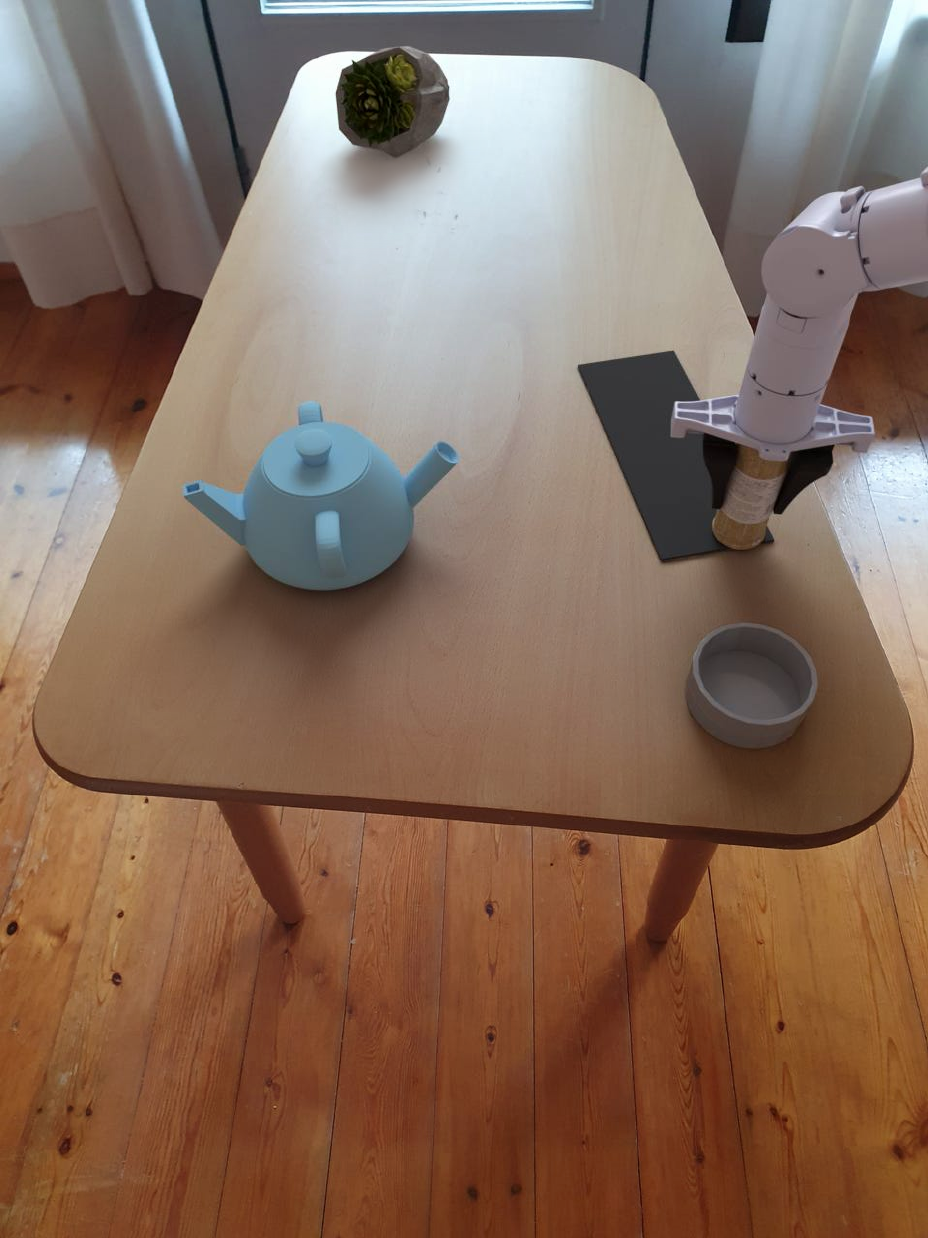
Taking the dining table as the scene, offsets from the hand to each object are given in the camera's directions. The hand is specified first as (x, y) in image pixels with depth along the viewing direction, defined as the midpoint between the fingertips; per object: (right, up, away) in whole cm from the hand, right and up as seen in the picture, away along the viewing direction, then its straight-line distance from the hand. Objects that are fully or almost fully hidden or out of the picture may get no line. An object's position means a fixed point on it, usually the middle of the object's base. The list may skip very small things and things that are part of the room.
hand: (746, 502), depth 78 cm
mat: (-4, +6, +10) cm, 12 cm away
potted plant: (-32, +51, +43) cm, 74 cm away
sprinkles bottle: (0, -2, +3) cm, 4 cm away
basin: (-2, -15, -6) cm, 17 cm away
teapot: (-34, -3, +4) cm, 35 cm away
